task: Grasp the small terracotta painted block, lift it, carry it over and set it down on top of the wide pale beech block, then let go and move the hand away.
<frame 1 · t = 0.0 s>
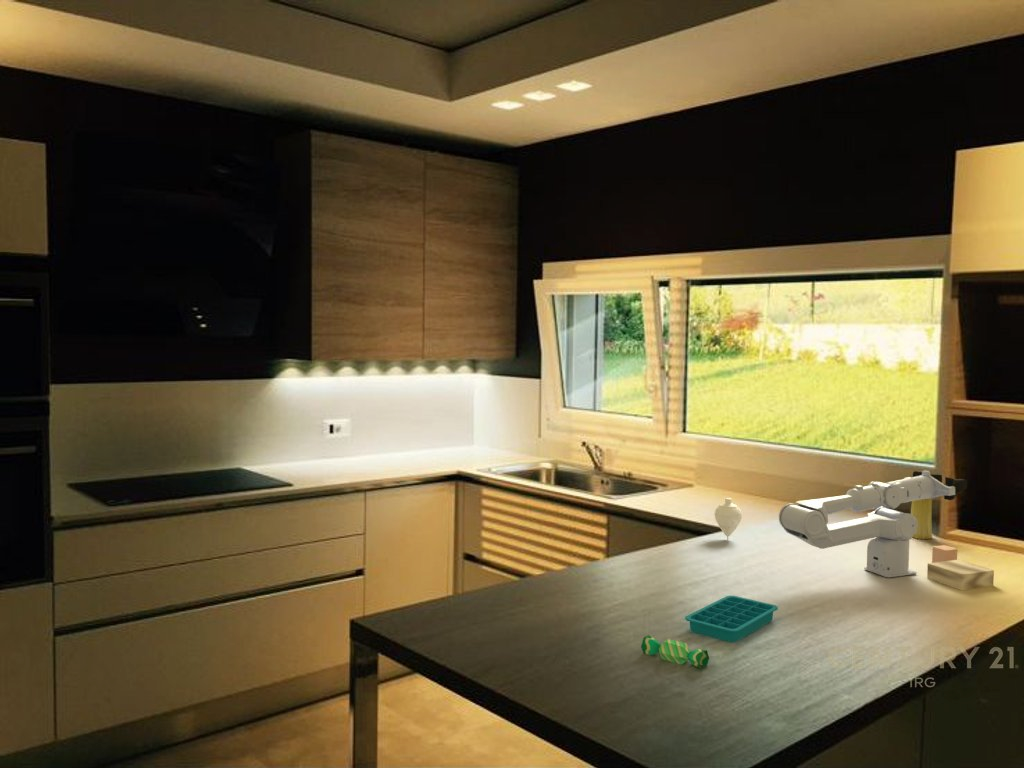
hand: (953, 481, 219), 22 cm above the countertop, tool horizontal, fingers open, 7 cm apart
candy: (674, 662, 158), on the countertop
beech block: (959, 583, 206), on the countertop
vase: (920, 537, 250), on the countertop
ice cube tray: (732, 627, 176), on the countertop
spinning top: (727, 540, 246), on the countertop
terracotta block: (944, 567, 219), on the countertop
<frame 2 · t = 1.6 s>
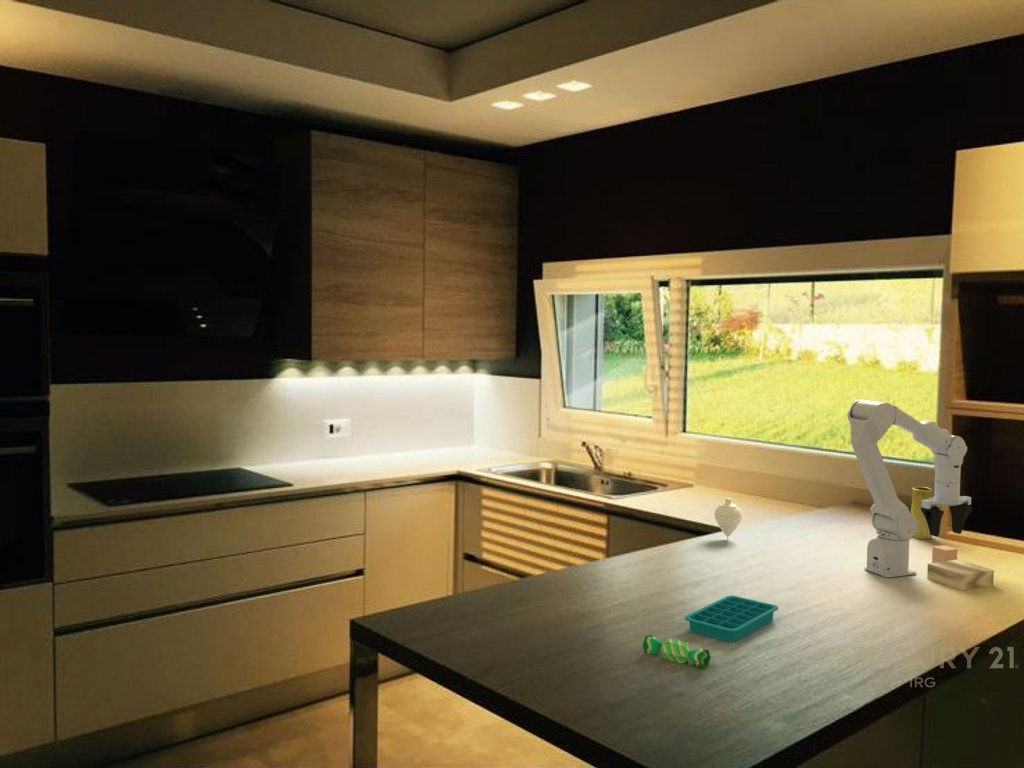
hand: (945, 534, 218), 8 cm above the countertop, tool pointing down, fingers open, 7 cm apart
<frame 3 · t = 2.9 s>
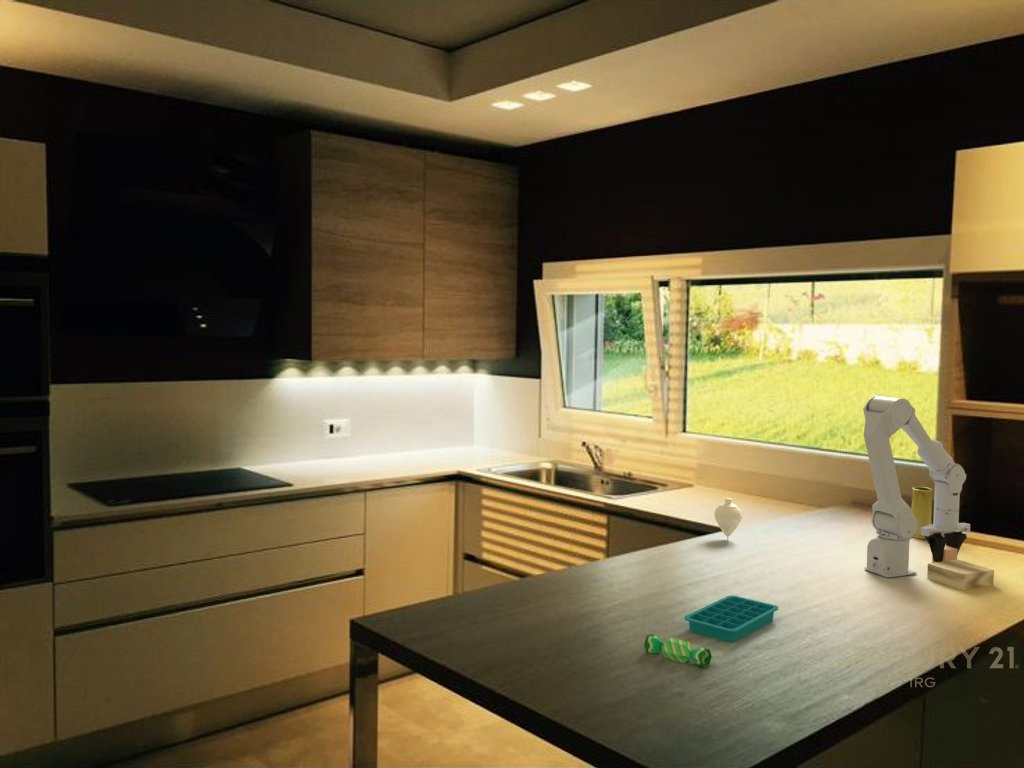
hand: (944, 561, 219), 1 cm above the countertop, tool pointing down, fingers closed on terracotta block, 4 cm apart
terracotta block: (944, 566, 219), on the countertop, touching gripper
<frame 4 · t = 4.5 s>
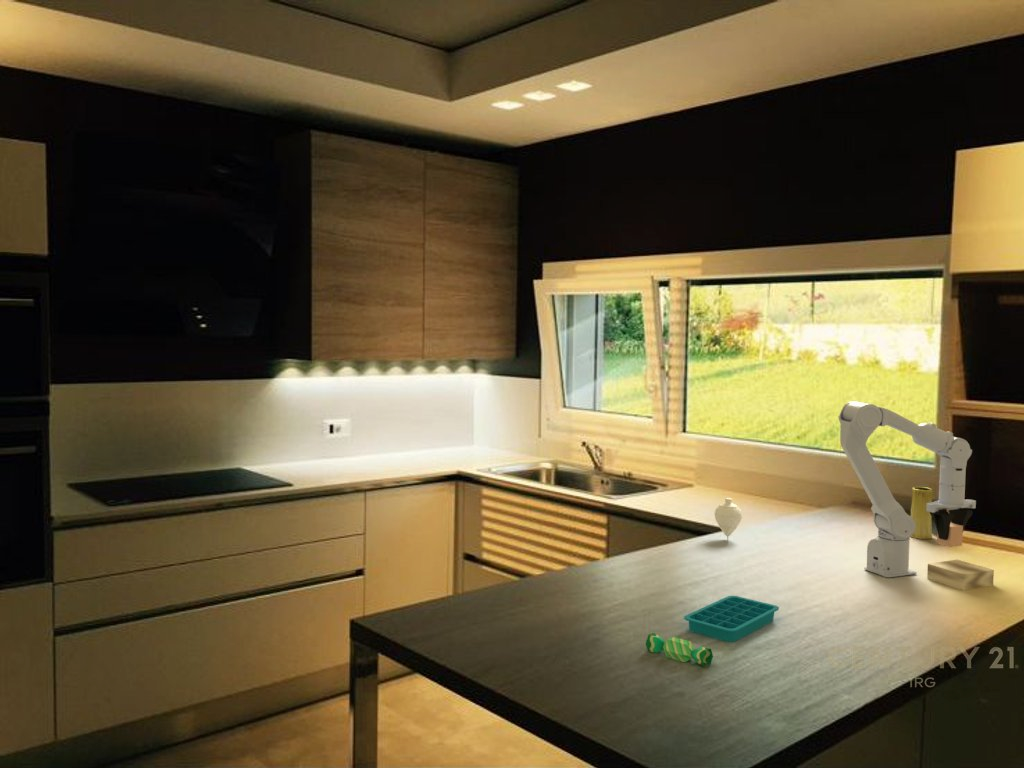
hand: (949, 538, 214), 8 cm above the countertop, tool pointing down, fingers closed on terracotta block, 4 cm apart
terracotta block: (949, 544, 214), point 7 cm above the countertop, touching gripper
when the fingers open (6 cm above the countertop, at t = 6.2 s): terracotta block stays where it is, resting on beech block.
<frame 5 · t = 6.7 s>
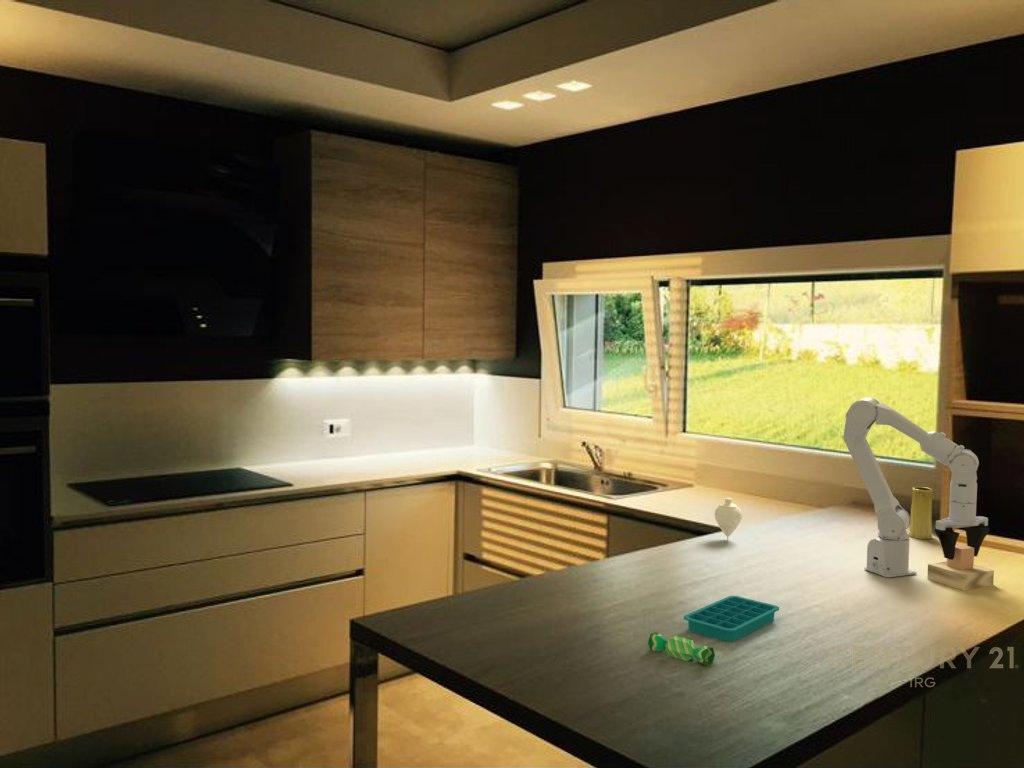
hand: (960, 557, 206), 6 cm above the countertop, tool pointing down, fingers open, 7 cm apart
beech block: (959, 583, 206), on the countertop, touching terracotta block
terracotta block: (959, 566, 206), point 4 cm above the countertop, touching beech block
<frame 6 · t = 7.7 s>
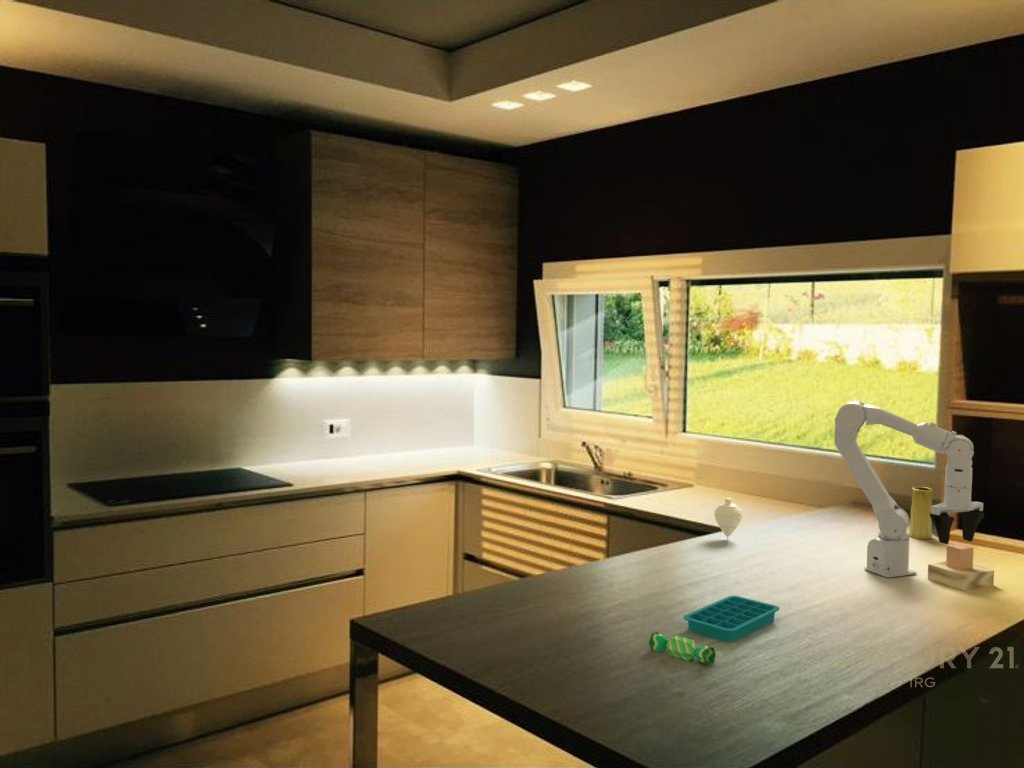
hand: (955, 541, 207), 9 cm above the countertop, tool pointing down, fingers open, 7 cm apart
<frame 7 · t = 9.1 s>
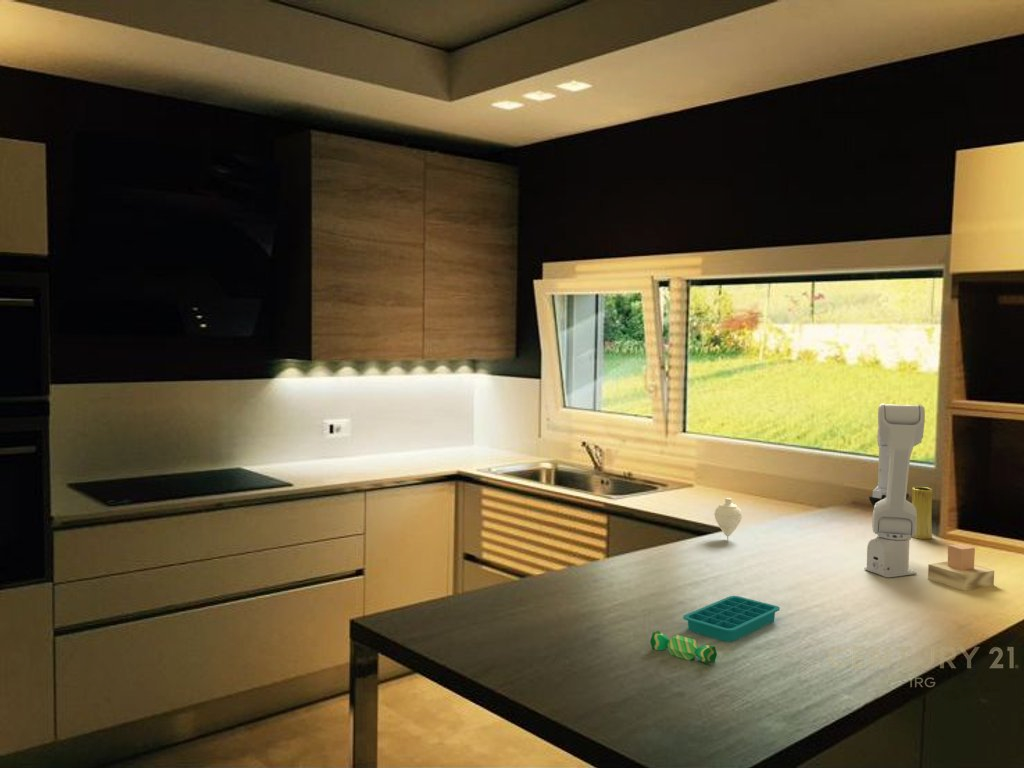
hand: (888, 521, 228), 9 cm above the countertop, tool pointing down, fingers open, 7 cm apart
beech block: (960, 583, 206), on the countertop
terracotta block: (960, 567, 206), point 4 cm above the countertop
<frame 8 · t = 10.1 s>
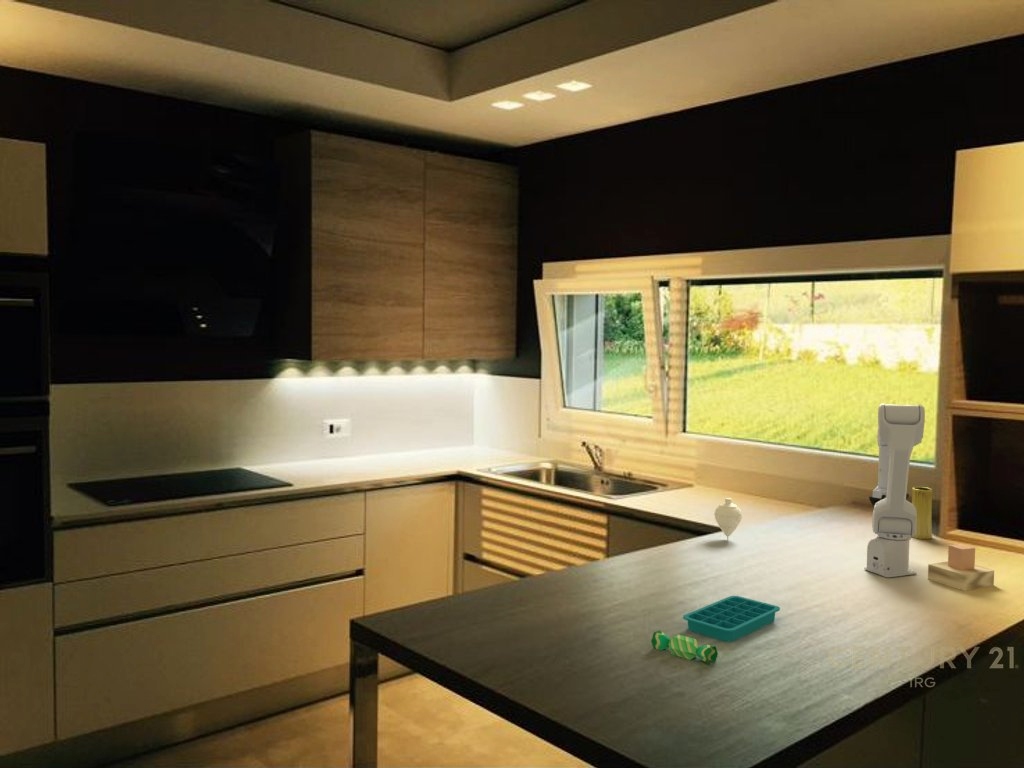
hand: (888, 521, 228), 9 cm above the countertop, tool pointing down, fingers open, 7 cm apart
beech block: (960, 583, 206), on the countertop, touching terracotta block
terracotta block: (961, 567, 206), point 4 cm above the countertop, touching beech block
at the end: terracotta block 0.4 cm off-centre on the beech block, point 4.0 cm above the beech block's base; terracotta block touching beech block; the gripper is holding nothing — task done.
